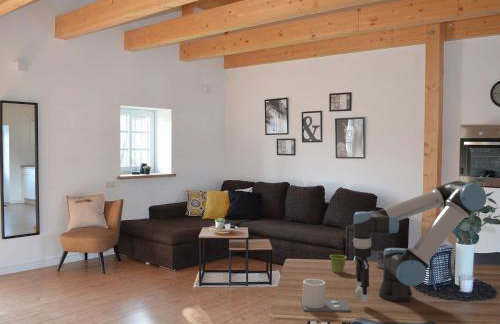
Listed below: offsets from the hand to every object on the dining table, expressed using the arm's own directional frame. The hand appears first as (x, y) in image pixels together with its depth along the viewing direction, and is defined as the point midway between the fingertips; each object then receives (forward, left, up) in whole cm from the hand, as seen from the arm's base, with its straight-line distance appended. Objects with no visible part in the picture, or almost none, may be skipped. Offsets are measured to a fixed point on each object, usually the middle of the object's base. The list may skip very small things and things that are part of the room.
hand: (362, 298), depth 207 cm
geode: (-34, -69, -4) cm, 77 cm away
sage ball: (0, 0, +3) cm, 3 cm away
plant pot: (0, -56, -4) cm, 56 cm away
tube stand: (+17, 0, -4) cm, 17 cm away
